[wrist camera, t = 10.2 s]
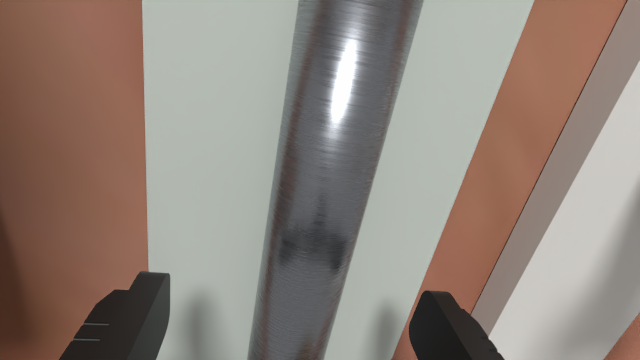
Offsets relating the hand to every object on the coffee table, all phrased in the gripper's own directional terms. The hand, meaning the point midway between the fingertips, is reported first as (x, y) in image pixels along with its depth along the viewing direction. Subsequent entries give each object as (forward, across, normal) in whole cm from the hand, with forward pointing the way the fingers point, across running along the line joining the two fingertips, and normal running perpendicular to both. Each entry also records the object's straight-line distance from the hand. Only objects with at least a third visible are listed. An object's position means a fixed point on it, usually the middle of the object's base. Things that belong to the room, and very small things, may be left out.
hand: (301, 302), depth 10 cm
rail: (+3, 0, 0) cm, 3 cm away
